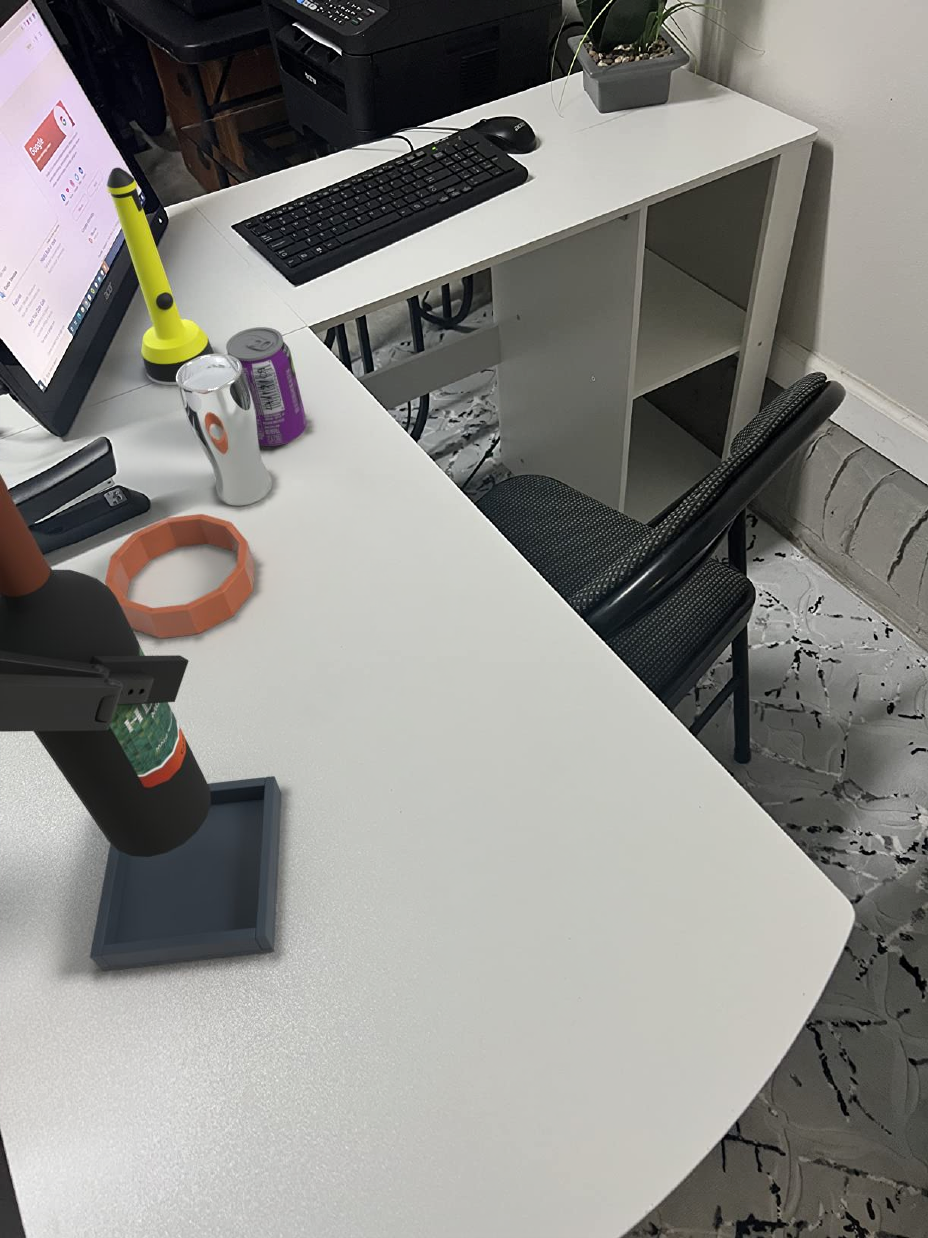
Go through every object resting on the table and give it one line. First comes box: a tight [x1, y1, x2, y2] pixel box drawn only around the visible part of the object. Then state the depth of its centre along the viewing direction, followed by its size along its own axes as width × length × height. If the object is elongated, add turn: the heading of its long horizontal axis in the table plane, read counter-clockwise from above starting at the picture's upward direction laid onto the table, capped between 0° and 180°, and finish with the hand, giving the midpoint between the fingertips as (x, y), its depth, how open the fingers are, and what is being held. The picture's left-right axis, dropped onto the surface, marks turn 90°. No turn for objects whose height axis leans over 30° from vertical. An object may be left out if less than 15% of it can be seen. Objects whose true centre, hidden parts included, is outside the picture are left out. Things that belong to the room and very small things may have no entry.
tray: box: [89, 775, 282, 972], centre depth 74 cm, size 13×14×3 cm
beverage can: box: [225, 326, 308, 447], centre depth 109 cm, size 7×7×12 cm
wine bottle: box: [0, 473, 211, 857], centre depth 56 cm, size 8×8×30 cm
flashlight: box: [106, 167, 215, 386], centre depth 115 cm, size 25×9×9 cm
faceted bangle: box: [104, 513, 256, 639], centre depth 96 cm, size 14×14×4 cm
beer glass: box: [176, 353, 273, 507], centre depth 101 cm, size 7×7×15 cm
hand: (130, 651), depth 59 cm, fingers closed on wine bottle, 7 cm apart
